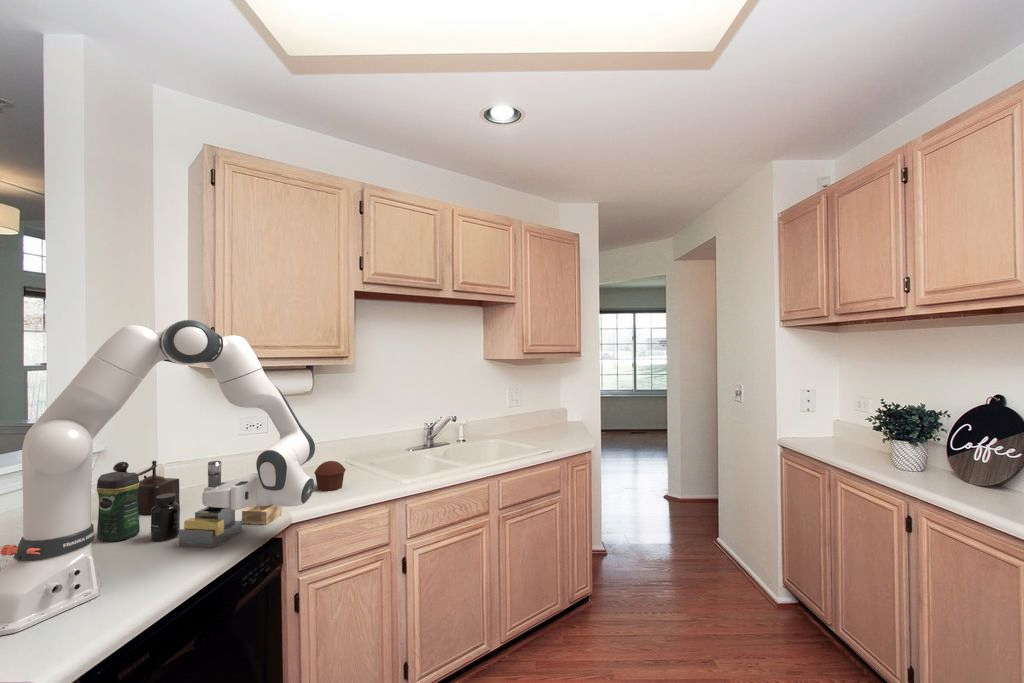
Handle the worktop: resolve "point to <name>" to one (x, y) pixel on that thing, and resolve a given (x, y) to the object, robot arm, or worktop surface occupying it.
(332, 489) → the muffin
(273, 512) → the open box
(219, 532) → the yellow rectangular block
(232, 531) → the socket
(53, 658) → the worktop surface
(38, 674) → the worktop surface
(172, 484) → the manual coffee grinder
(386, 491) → the worktop surface
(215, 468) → the grey cylinder
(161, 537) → the supplement bottle
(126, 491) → the coffee jar
